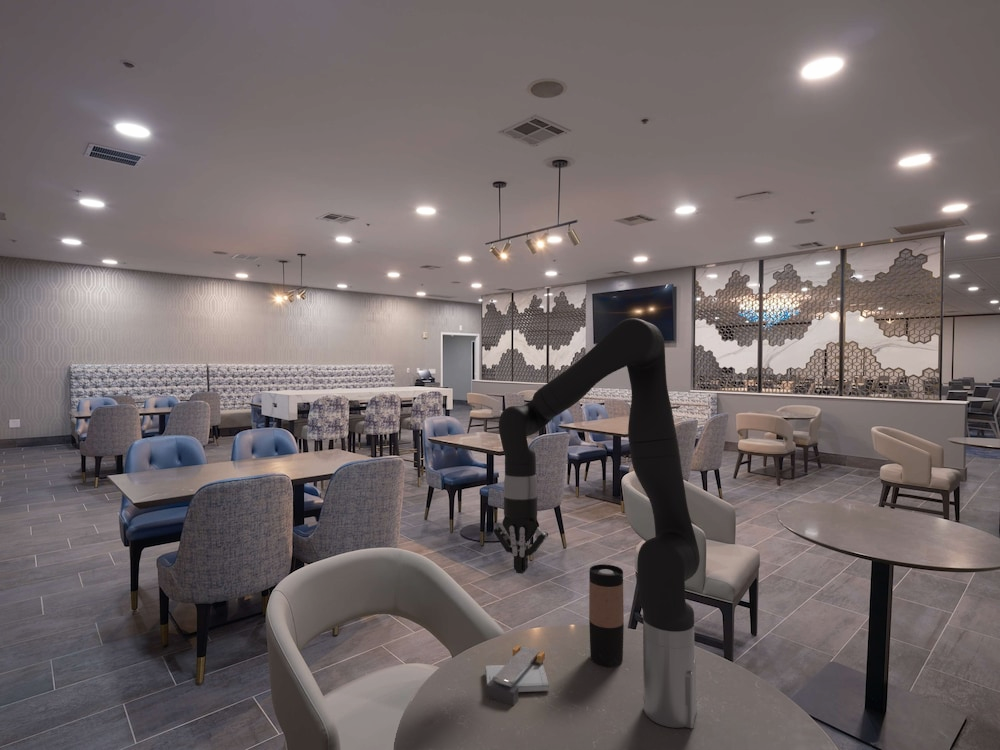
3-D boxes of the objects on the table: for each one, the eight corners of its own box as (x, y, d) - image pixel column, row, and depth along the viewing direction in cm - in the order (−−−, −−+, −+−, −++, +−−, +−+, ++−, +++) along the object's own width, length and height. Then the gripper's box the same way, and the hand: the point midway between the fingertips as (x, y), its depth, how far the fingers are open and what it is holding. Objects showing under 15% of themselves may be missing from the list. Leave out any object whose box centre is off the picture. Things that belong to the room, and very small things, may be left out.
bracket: (544, 670, 115) (544, 652, 115) (515, 706, 102) (515, 686, 102) (516, 662, 118) (516, 645, 118) (484, 696, 105) (484, 677, 105)
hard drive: (487, 686, 106) (548, 683, 106) (485, 664, 114) (542, 662, 115) (487, 694, 106) (549, 692, 106) (485, 672, 114) (542, 670, 115)
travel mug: (583, 653, 122) (583, 566, 123) (613, 648, 124) (612, 562, 125) (599, 670, 115) (599, 577, 115) (630, 664, 117) (629, 573, 118)
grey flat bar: (540, 658, 116) (540, 649, 116) (510, 693, 103) (510, 683, 103) (523, 654, 118) (523, 645, 118) (492, 688, 105) (492, 677, 105)
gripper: (554, 494, 120) (554, 571, 119) (501, 489, 125) (501, 563, 125) (541, 500, 113) (542, 582, 112) (486, 495, 119) (486, 573, 118)
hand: (520, 572), depth 119 cm, fingers closed
